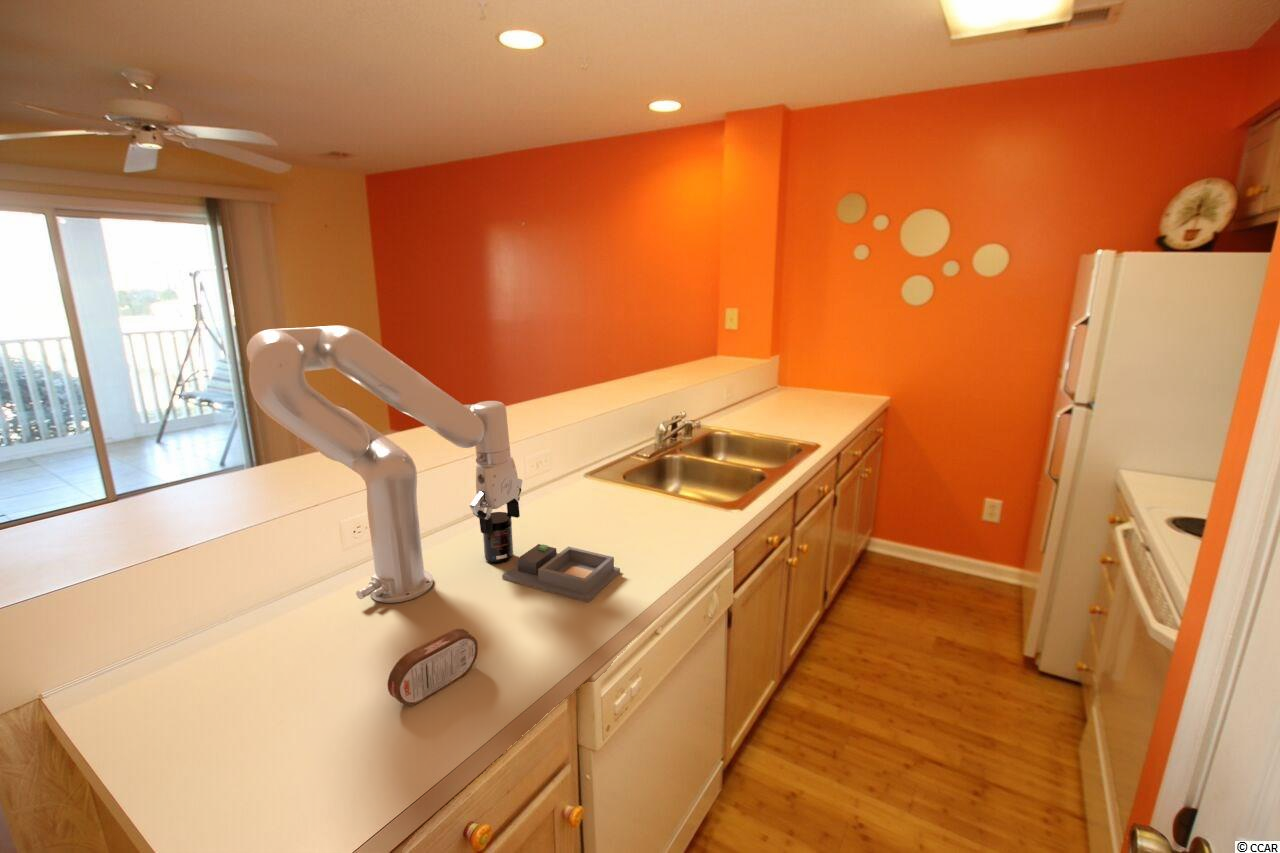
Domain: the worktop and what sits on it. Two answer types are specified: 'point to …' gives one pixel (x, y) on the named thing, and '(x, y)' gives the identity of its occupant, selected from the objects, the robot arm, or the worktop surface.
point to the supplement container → (499, 539)
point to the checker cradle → (564, 571)
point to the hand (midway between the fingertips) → (500, 524)
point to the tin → (432, 666)
